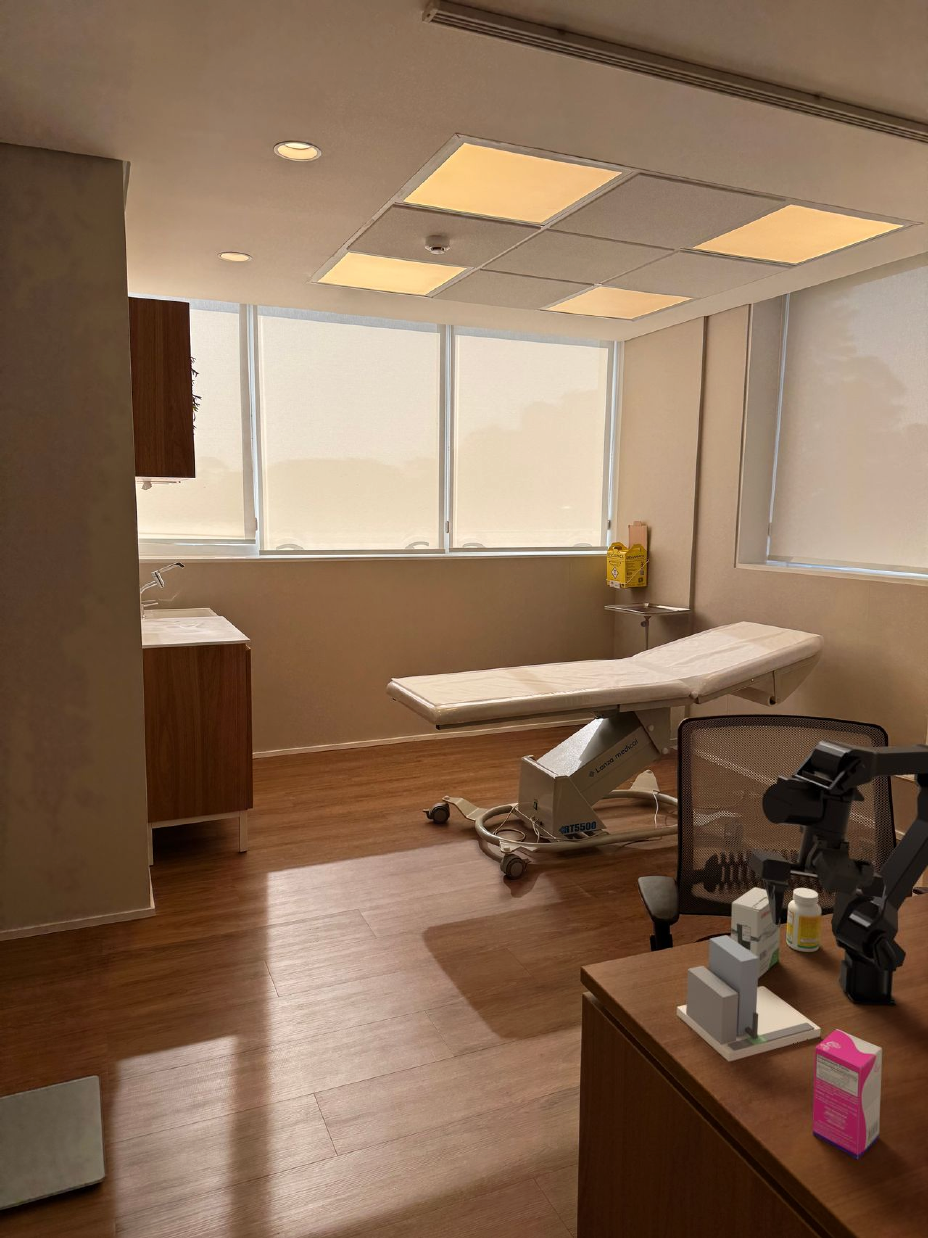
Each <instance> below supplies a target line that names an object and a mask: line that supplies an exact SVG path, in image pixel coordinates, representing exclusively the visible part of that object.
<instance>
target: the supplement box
mask: <svg viewBox="0 0 928 1238" xmlns="http://www.w3.org/2000/svg"><path fill="white" fill-rule="evenodd" d="M882 1059H883V1048H882V1047H880V1046H877V1045H876V1044H873V1043H870V1042H868V1041H866V1040H863V1039H861V1038H859V1037H856V1036H854V1035H851V1034H850V1033H848V1032H845V1031H843V1030H840V1029H838V1028H836V1029H835V1030H834V1031H833V1032H832V1033H830V1034H829V1035H828V1036H826V1037H825V1038H824V1039H823V1040H822V1041H821V1042H819V1044H818V1045H816V1046H815V1048H814V1074H813V1077H814V1078H813V1108H812V1109H813V1111H812V1112H813V1113H812V1135H814V1136H815V1137H817V1138H819V1139H821V1140H822V1141H824V1142H826V1143H827V1144H830V1145H832V1146H833V1147H835V1148H837V1149H838V1150H841V1151H842V1152H844V1153H846V1154H848V1155H849V1156H851V1157H853V1158H854V1159H856V1160H859V1159H861V1158H862V1156H863V1155H864V1154H865V1153H866V1152H867V1151H868V1150H869V1149H870V1148H871V1146H873V1145H874V1143H876V1141H877V1140H879V1138H880V1118H881V1117H880V1116H881V1115H880V1114H881V1113H880V1112H881V1090H882V1087H881V1085H882V1067H883V1066H882V1061H883V1060H882Z"/></svg>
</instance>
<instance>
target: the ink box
mask: <svg viewBox="0 0 928 1238" xmlns="http://www.w3.org/2000/svg"><path fill="white" fill-rule="evenodd" d="M730 928H731V930H730V938H731V939H733V940H734V941H736V942H737V943H738V944H740V945H741V946H743V947H744V948H746V949H747V950H748V951H750V952H751V953H753V954H754V955H756V956H757V957H758V958H759V963H758V979H760V977H762V976H763V975H764V974H765V973H767V972H768V970H769V969H771V967H773V966H774V965H775V964H776V963H777V962H778V961H779V960H780V959H779V958H780V957H779V956H780V937H781V935H780V933H781V932H780V931H781V920H780V921H779V924H778V925H775V924H774V923H773V921H772V916H771V911H770V906H769V901H768V897H767V892H766V889H763V888H761V887H753V888H751V889H749V890H748V891H747V892H745V893H743V895H741V896H740V897H738V898H737V899H735V900H734V901H732V902H731V926H730Z"/></svg>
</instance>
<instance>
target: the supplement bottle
mask: <svg viewBox="0 0 928 1238" xmlns="http://www.w3.org/2000/svg"><path fill="white" fill-rule="evenodd" d="M792 892H793V895H792V900H791V901H790V902H789V903H788V905H787V920H786V935H785V937H786V939H785V940H786V944H787V945H788V947H790V948H792V949H793V950H796V951H799V952H806V953H812V952H816V951H817V950H818V949H820V942H821V939H820V938H821V937H820V936H821V924H822V923H821V922H822V908H821V906H820V905H819V904H818V902H819V893H818V892H817V891H815V890H814V889H810V888H805V887H798V888H795V889H793V891H792Z"/></svg>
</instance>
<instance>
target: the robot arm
mask: <svg viewBox="0 0 928 1238" xmlns="http://www.w3.org/2000/svg"><path fill="white" fill-rule="evenodd" d="M816 744H817V745H816V746H815V747H814V748H813V749H812V751H811V752H810V753H809V754H808V755H807V757H806V758H805V759H804V760H803V761H802V762H801V764H800V765H799V766H798V767H797V768H796V769H795V771H794V772H793V773H792V775H791V777H789V776H786V775H778V776H777V779H776V783H773V784H770V786H768V787H767V789H766V790H765V792H764V793H763V795H762V801H761V804H762V811H763V814H764V816H765V818H767V820H768V821H769V822H770V823H771V824H775V825H787V826H799V830H798V832H799V833H800V834H801V835H802V838H801V842H800V845H799V846H800V847H799V850H798V851H794V854H793V859H794V860H796V861H797V862H795V861H789V860H787V859H786V857H783V856H782V855H781V854H780V853H778V852H776V851H769V850H765V849H759V848H758V849H756V848H755V849H754V850H753V851H752V852H751V853H750V854H749V858H748V862H747V866H748V867H749V868H750V869H751V870H752V871H753V872H755V874H756V875H758V876H759V878H761V879H762V882H763V886H764V888H765V889H764V890H766V892H767V897H768V901H769V906H770V911H771V916H772V921H773V923H774V924H775V925H778V924H779V921H780V922H781V917H782V910H783V903H784V898H785V893H786V891H787V890H788V889H789V888H790V885H789V884H788V883H787V882H786V881H787V880H789V879H790V878H791V877H790V876H796V877H801V878H802V877H803V878H808V879H814V880H819V882H820V886H821V888H822V889H824V890H825V891H826V892H829V893H835V896H834V905H833V912H832V917H831V920H830V923H831V933H832V935H833V937H834V939H835V942H836V946H837V947H839V948H840V949H843V950H844V958H843V959H842V960H841V961H840V971H839V972H840V973H839V974H840V975H839V979H838V983H839V985H840V987H841V988H842V989H843V991H844V992H845V994H846V995H847V996H848V998H849V999H850V1000H851V1002H852V1003H853V1004H859V1005H860V1004H861V1005H885V1006H890V1005H891V1006H895V1005H896V1006H897V1000H896V999H895V998H894V996H893V995H892V993H893V992H892V991H893V977H894V972H896V971H897V968H901V967H903V966H904V962H905V959H906V956H907V953H906V951H905V950H904V949H903V948H902V947H901V946H900V945H899V943H897V941H896V940H895V939H896V936H897V934H898V932H899V914H898V913H899V912H898V911H899V910H900V908H901V907H902V905H903V904H904V902H905V900H906V899H907V898H908V896H909V894H910V893H911V891H912V890H913V888H914V887H915V885H916V884H917V882H918V881H919V879H920V878H921V877H922V875H924V872H925V871H926V870H927V867H928V744H925V743H920V744H915V745H896V746H894V745H893V746H868V747H867V746H866V747H864V746H858V745H854V744H850V743H846V742H843V741H836V740H832V739H822V740H820V741H818V742H817V743H816ZM911 775H914V777H913V781H914V782H915V784H916V786H918V789H919V792H918V794H917V796H916V816H915V818H914V820H913V821H912V823H911V825H910V826H909V828H908V829H907V830H906V832H905V833H904V835H903V836H902V837H901V839H900V841H899V842H898V843H897V845H896V847H895V848H894V850H893V851H892V852H891V854H890V855H889V857H888V858H887V860H886V861H885V863H884V864H883V866H882V867H881V868H880V870H879V872H875V868H876V867H875V866H874V864H873V862H872V861H870V860H865V859H855V858H852V857H850V852H849V851H850V841H849V840H847V839H846V836H847V831H848V826H849V822H850V817H851V813H852V808H853V802H858V803H859V802H862V803H864V801H865V796H864V795H863V794H862V793H861V791H860V790H859V789H858V787H860V786H865V785H868V784H870V783H872V782H873V780H874V779H875V778H879V777H892V776H893V777H895V776H896V777H897V776H911Z"/></svg>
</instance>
